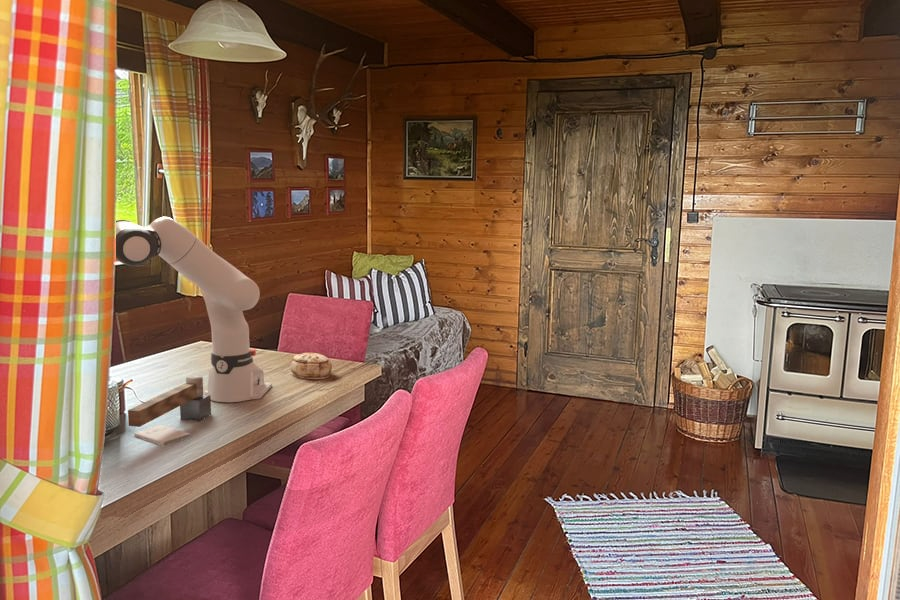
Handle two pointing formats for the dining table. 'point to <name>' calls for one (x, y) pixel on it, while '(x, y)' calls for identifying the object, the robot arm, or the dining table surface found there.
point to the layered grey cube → (196, 408)
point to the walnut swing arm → (166, 402)
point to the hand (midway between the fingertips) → (112, 403)
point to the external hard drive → (162, 435)
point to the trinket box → (311, 366)
